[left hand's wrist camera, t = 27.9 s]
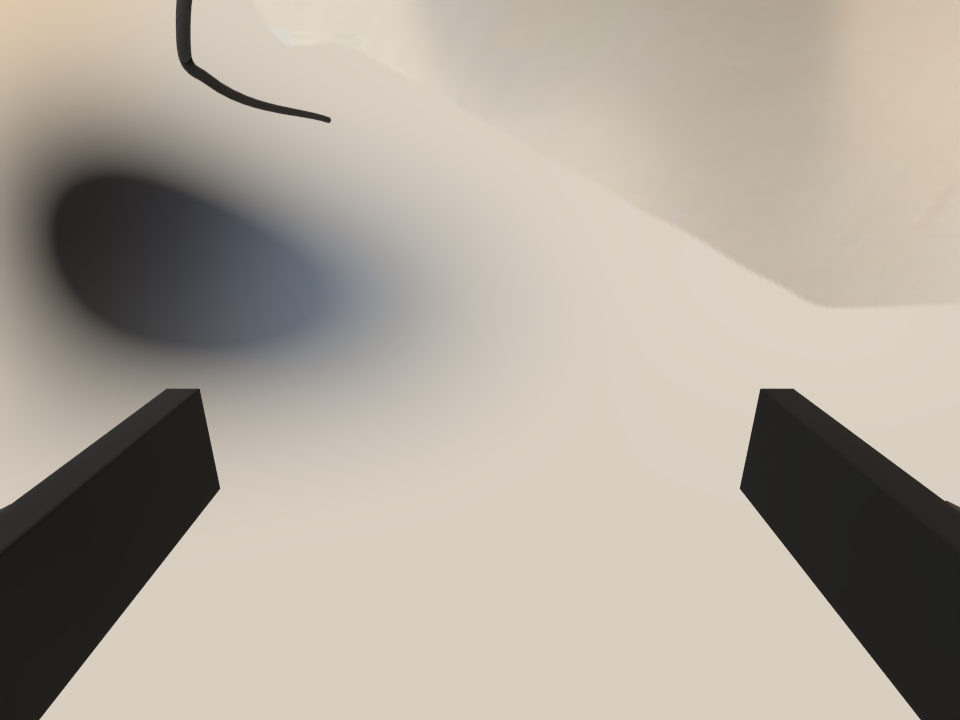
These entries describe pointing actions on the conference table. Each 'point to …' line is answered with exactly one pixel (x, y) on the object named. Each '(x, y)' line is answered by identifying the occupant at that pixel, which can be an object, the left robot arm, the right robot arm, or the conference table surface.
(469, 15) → the conference table surface
